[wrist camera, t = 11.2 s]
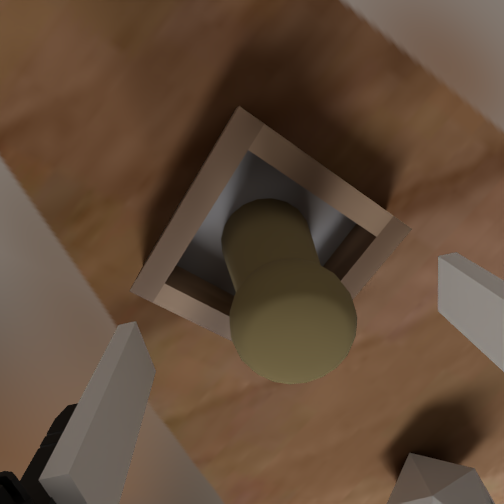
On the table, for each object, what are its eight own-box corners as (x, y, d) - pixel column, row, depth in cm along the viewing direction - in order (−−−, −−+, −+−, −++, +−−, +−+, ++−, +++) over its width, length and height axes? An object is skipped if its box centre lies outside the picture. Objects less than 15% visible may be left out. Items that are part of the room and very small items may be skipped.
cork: (263, 178, 21) (301, 237, 11) (329, 237, 23) (413, 336, 13) (202, 247, 22) (183, 357, 12) (268, 298, 24) (300, 431, 14)
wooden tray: (385, 212, 23) (412, 229, 20) (284, 339, 26) (292, 371, 23) (236, 107, 20) (239, 105, 17) (142, 266, 23) (129, 291, 20)
